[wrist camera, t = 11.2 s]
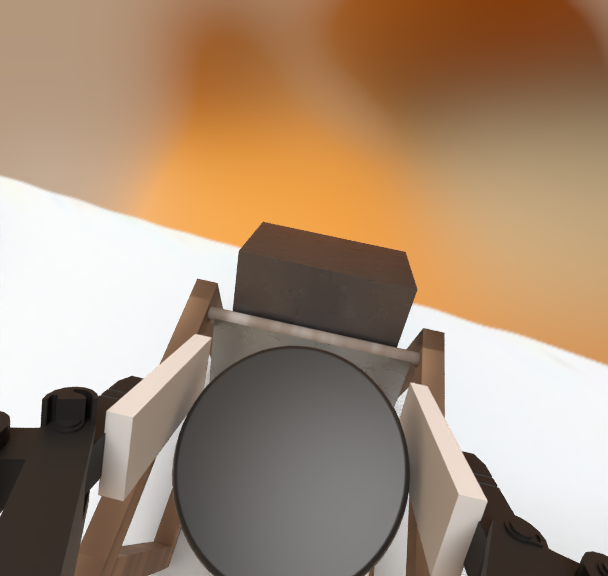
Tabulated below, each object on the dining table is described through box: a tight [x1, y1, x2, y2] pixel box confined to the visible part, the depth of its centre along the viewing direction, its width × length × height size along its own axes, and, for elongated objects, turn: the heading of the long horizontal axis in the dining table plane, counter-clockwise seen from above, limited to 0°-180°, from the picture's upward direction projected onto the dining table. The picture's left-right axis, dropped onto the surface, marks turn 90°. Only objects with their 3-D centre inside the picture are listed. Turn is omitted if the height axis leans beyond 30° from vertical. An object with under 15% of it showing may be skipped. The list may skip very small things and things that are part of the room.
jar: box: [172, 346, 410, 576], centre depth 18 cm, size 9×8×12 cm
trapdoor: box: [210, 222, 417, 408], centre depth 32 cm, size 14×19×8 cm
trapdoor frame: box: [74, 279, 445, 576], centre depth 28 cm, size 18×18×16 cm
